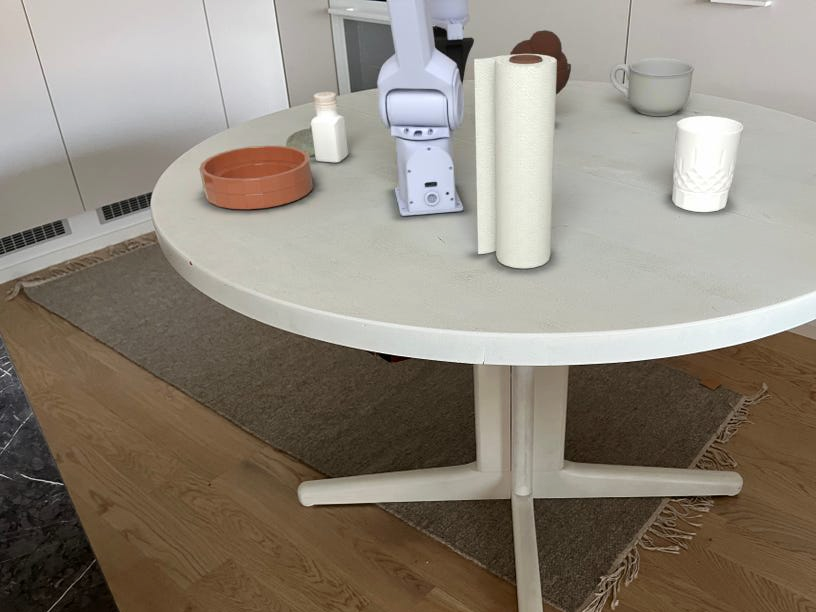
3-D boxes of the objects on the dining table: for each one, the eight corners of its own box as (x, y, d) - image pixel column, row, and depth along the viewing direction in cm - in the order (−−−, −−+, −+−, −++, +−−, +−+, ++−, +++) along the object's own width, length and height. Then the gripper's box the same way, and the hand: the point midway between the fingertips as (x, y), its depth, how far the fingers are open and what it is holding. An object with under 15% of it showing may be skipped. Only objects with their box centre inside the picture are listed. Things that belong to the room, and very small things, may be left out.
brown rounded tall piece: (568, 116, 136) (572, 23, 128) (568, 135, 127) (572, 36, 119) (507, 115, 137) (507, 23, 129) (502, 134, 128) (502, 36, 120)
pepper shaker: (350, 155, 120) (343, 91, 115) (339, 164, 117) (331, 98, 112) (325, 154, 121) (318, 90, 116) (314, 162, 118) (305, 97, 113)
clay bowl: (313, 206, 103) (308, 175, 101) (200, 215, 101) (193, 183, 99) (313, 171, 115) (309, 142, 112) (212, 178, 113) (206, 149, 110)
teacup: (697, 108, 139) (703, 61, 135) (675, 123, 131) (680, 73, 127) (623, 99, 145) (627, 53, 141) (598, 113, 138) (601, 65, 133)
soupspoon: (283, 161, 121) (326, 162, 121) (280, 139, 119) (324, 141, 119) (307, 116, 139) (344, 117, 139) (305, 97, 137) (343, 98, 137)
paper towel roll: (561, 258, 88) (570, 57, 77) (523, 275, 85) (526, 67, 73) (515, 240, 93) (516, 47, 81) (477, 255, 89) (473, 56, 78)
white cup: (685, 217, 97) (696, 136, 92) (657, 195, 104) (665, 119, 98) (742, 210, 99) (756, 130, 94) (711, 189, 105) (722, 113, 100)
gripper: (411, -25, 113) (417, 74, 120) (422, -12, 101) (428, 97, 108) (460, -27, 114) (462, 71, 121) (477, -14, 102) (479, 94, 109)
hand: (449, 83), depth 114 cm, fingers open, 7 cm apart
